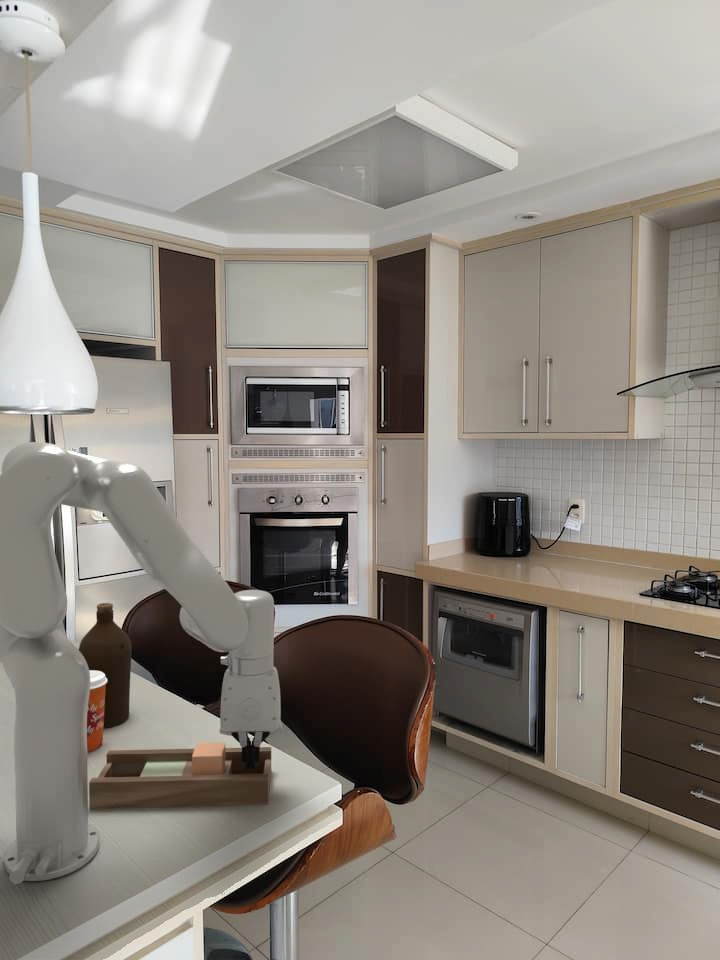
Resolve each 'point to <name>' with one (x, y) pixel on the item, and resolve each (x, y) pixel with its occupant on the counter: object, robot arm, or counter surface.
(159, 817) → the counter surface
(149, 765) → the box
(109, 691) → the olive oil
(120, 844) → the counter surface
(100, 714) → the paper cup
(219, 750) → the block
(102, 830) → the counter surface
